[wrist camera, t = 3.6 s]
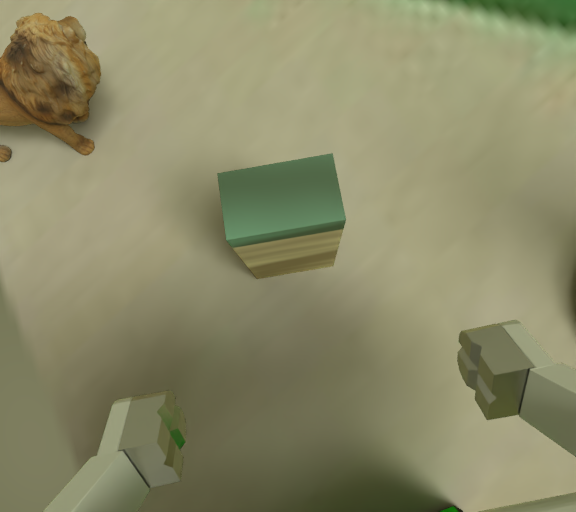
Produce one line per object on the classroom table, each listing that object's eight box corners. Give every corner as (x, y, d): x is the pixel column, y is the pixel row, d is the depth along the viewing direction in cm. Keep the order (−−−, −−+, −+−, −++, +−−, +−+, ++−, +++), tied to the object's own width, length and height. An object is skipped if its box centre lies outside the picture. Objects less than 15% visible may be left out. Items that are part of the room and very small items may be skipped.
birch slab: (333, 266, 27) (345, 219, 17) (257, 279, 27) (226, 240, 17) (324, 222, 27) (332, 153, 18) (250, 235, 27) (217, 173, 18)
